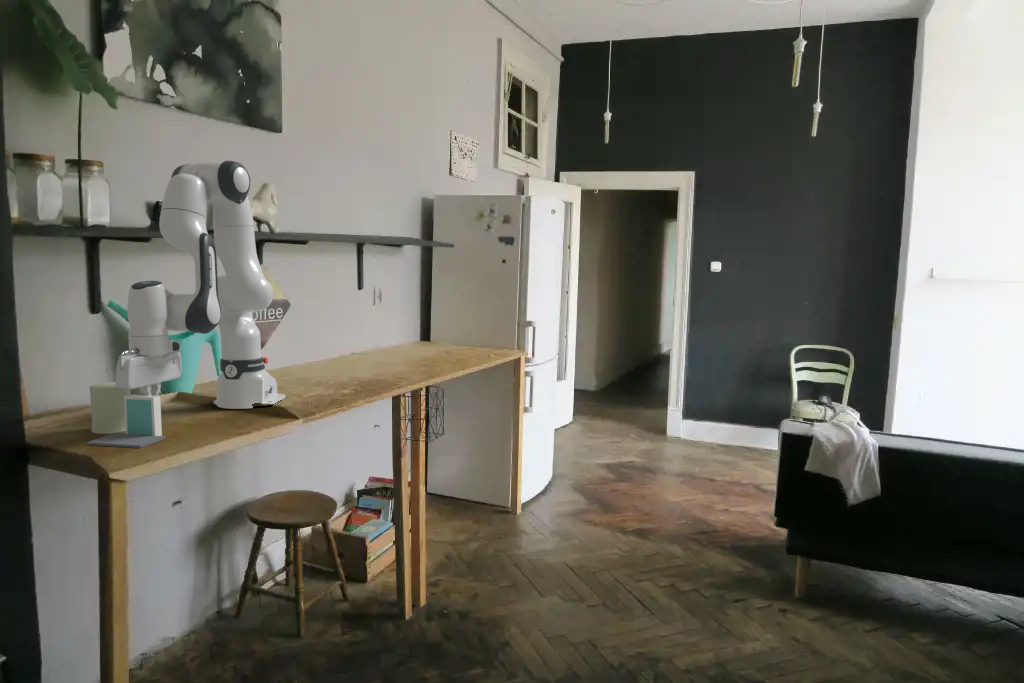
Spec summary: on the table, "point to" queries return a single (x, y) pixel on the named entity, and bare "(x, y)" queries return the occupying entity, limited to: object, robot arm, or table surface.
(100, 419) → the pale green cylinder
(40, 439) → the table surface
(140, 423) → the white box
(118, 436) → the mat
